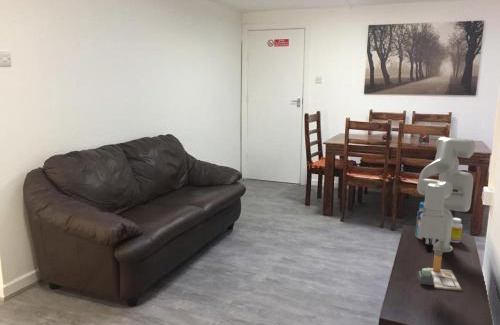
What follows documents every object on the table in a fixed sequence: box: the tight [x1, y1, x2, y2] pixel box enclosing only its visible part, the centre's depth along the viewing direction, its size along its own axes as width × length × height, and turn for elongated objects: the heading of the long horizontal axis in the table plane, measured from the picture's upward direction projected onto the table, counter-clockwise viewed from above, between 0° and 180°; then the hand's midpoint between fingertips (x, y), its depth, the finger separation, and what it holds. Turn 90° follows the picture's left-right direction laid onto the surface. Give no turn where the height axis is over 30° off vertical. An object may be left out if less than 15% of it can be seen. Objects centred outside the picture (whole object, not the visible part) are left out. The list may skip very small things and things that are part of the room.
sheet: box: [426, 267, 463, 292], centre depth 187 cm, size 19×11×1 cm, turn 167°
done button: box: [421, 267, 431, 277], centre depth 184 cm, size 4×4×4 cm
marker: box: [432, 249, 444, 272], centre depth 193 cm, size 3×3×10 cm
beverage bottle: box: [414, 201, 425, 238], centre depth 233 cm, size 8×8×20 cm
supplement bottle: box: [450, 217, 463, 244], centre depth 229 cm, size 7×7×13 cm
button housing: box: [417, 270, 434, 286], centre depth 184 cm, size 5×5×4 cm
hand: (428, 251), depth 182 cm, fingers closed
